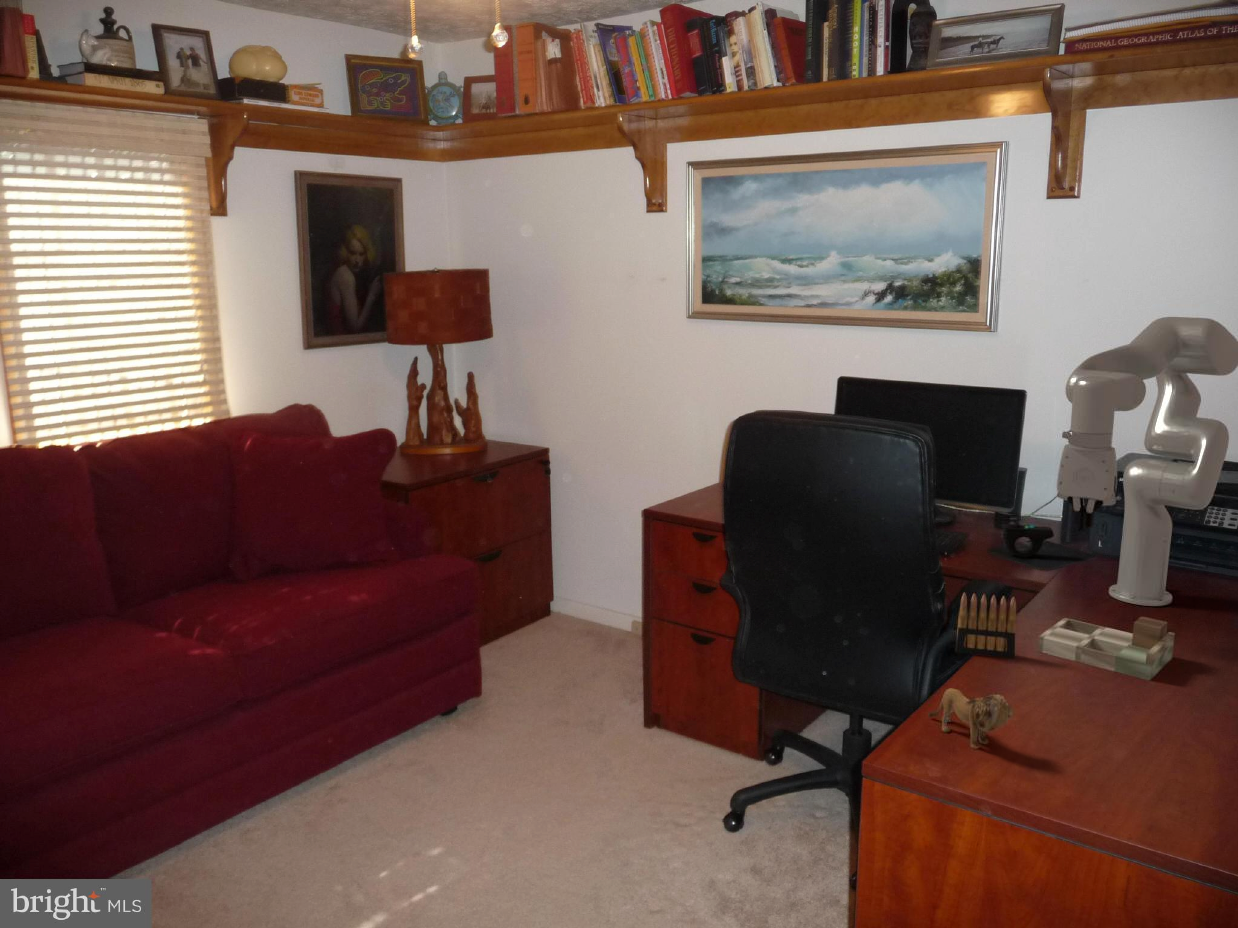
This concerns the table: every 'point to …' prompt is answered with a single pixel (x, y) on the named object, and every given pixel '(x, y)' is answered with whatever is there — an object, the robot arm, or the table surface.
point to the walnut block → (1148, 632)
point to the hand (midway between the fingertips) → (1083, 529)
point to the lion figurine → (975, 713)
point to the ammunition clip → (986, 628)
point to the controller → (1017, 531)
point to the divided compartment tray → (1105, 648)
